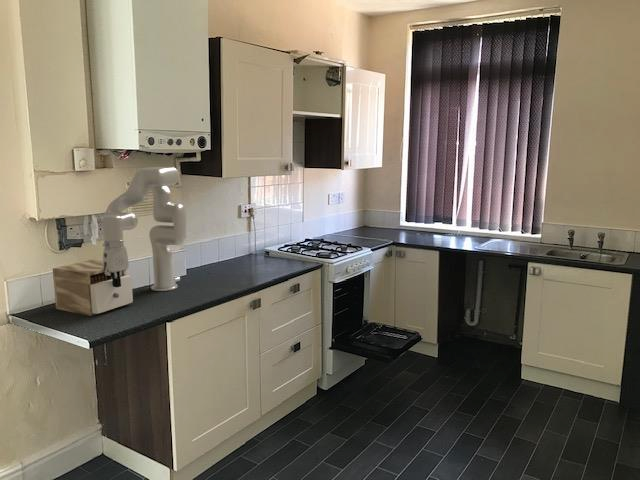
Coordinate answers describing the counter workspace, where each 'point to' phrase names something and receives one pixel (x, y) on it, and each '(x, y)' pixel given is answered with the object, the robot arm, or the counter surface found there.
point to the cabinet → (77, 285)
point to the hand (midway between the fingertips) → (116, 286)
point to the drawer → (111, 295)
